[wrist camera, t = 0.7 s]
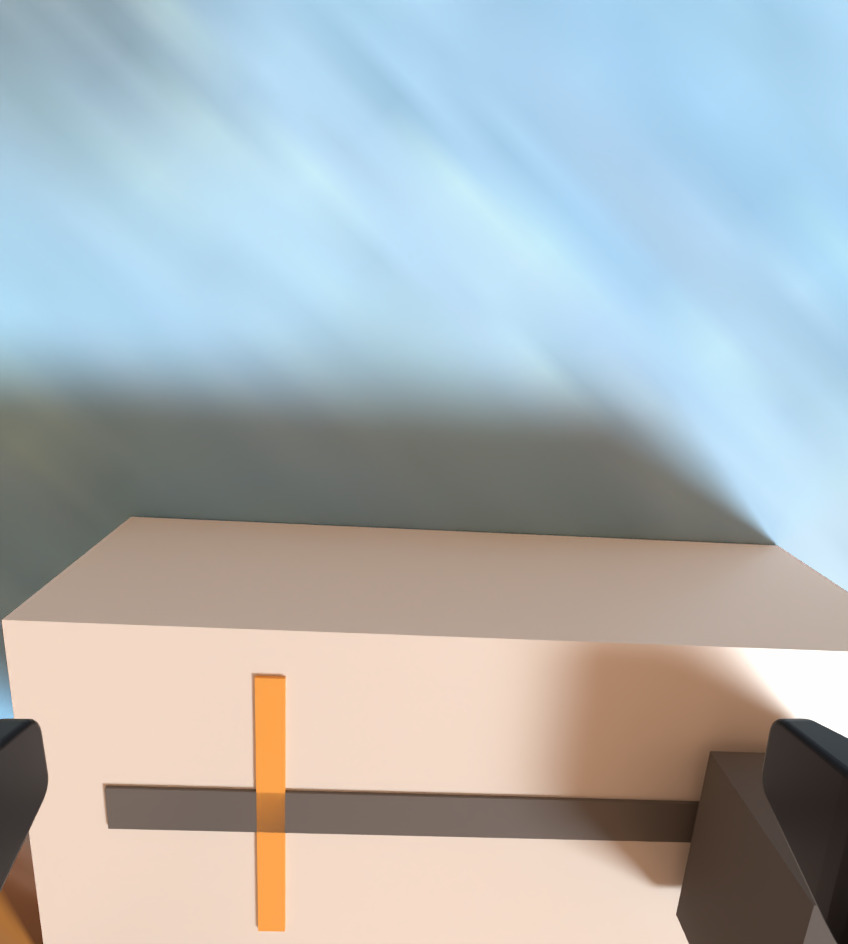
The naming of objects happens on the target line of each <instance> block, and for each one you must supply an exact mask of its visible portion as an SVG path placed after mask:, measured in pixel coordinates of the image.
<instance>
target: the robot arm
mask: <svg viewBox="0 0 848 944" xmlns="http://www.w3.org/2000/svg"><path fill="white" fill-rule="evenodd" d="M761 776H762V786H763V790H764V793H765V796H766V798H767V800H768V803H769V805H770V807H771V809H772V811H773V813H774V815H775V818H776V820H777V822H778V824H779V826H780V828H781V831H782V833H783V835H784V837H785V839H786V841H787V843H788V846H789V848H790V850H791V852H792V854H793V856H794V858H795V861H796V863H797V865H798V867H799V869H800V871H801V873H802V876H803V878H804V880H805V882H806V884H807V886H808V888H809V891H810V893H811V895H812V897H813V899H814V901H815V903H816V905H817V907H818V909H819V911H820V913H821V915H822V917H823V919H824V921H825V923H826V925H827V927H828V929H829V931H830V932H831V934H832V936H833V938H834V940H835V942H836V943H837V944H848V738H847V737H845V736H843V735H841V734H839V733H837V732H835V731H833V730H831V729H829V728H827V727H825V726H823V725H821V724H819V723H817V722H815V721H813V720H810V719H805V718H781V719H778V720H776V721H774V722H773V724H772V725H771V728H770V731H769V736H768V742H767V747H766V752H765V757H764V762H763V768H762V775H761ZM47 787H48V769H47V763H46V757H45V750H44V744H43V737H42V731H41V728H40V725H39V724H38V722H37V721H35V720H33V719H0V892H1V890H2V887H3V885H4V883H5V881H6V879H7V877H8V875H9V873H10V870H11V868H12V866H13V864H14V862H15V860H16V858H17V856H18V853H19V851H20V849H21V847H22V845H23V843H24V841H25V839H26V836H27V834H28V832H29V830H30V828H31V826H32V824H33V822H34V819H35V817H36V815H37V813H38V811H39V809H40V807H41V804H42V802H43V800H44V798H45V795H46V791H47Z"/></svg>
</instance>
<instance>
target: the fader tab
mask: <svg viewBox="0 0 848 944" xmlns="http://www.w3.org/2000/svg"><path fill="white" fill-rule="evenodd" d="M764 757H765V753H759V752H726V751H710V753H709V758H708V763H707V768H706V772H705V777H704V782H703V787H702V792H701V796H700V801H699V806H698V811H697V816H696V820H695V825H694V830H693V835H692V840H691V845H690V849H689V854H688V859H687V864H686V869H685V873H684V878H683V883H682V888H681V893H680V897H679V902H678V907H677V912H676V916H677V918H678V920H679V922H680V925H681V927H682V929H683V931H684V934H685V936H686V938H687V941H688V943H689V944H837V943H836V942H835V940H834V938H833V936H832V934H831V932H830V931H829V929H828V927H827V925H826V923H825V921H824V919H823V917H822V915H821V913H820V911H819V909H818V907H817V905H816V903H815V901H814V899H813V897H812V895H811V893H810V891H809V888H808V886H807V884H806V882H805V880H804V878H803V876H802V873H801V871H800V869H799V867H798V865H797V863H796V861H795V858H794V856H793V854H792V852H791V850H790V848H789V846H788V843H787V841H786V839H785V837H784V835H783V833H782V831H781V828H780V826H779V824H778V822H777V820H776V818H775V815H774V813H773V811H772V809H771V807H770V805H769V803H768V800H767V798H766V796H765V793H764V790H763V786H762V776H761V775H762V768H763V762H764Z"/></svg>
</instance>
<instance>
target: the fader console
mask: <svg viewBox="0 0 848 944" xmlns="http://www.w3.org/2000/svg"><path fill="white" fill-rule="evenodd" d="M2 627H3V635H4V643H5V650H6V658H7V666H8V674H9V681H10V689H11V697H12V705H13V712H14V719H33V720H35V721H37V722H38V724H39V725H40V728H41V731H42V737H43V744H44V750H45V757H46V763H47V769H48V787H47V791H46V795H45V798H44V800H43V802H42V804H41V807H40V809H39V811H38V813H37V815H36V817H35V819H34V822H33V824H32V826H31V828H30V830H29V837H30V844H31V852H32V860H33V868H34V875H35V883H36V891H37V899H38V906H39V914H40V922H41V930H42V937H43V944H689V943H688V941H687V938H686V936H685V934H684V931H683V929H682V927H681V925H680V922H679V920H678V918H677V916H676V912H677V907H678V902H679V897H680V893H681V888H682V883H683V878H684V873H685V869H686V864H687V859H688V854H689V849H690V845H691V840H692V835H693V830H694V825H695V820H696V816H697V811H698V806H699V801H700V796H701V792H702V787H703V782H704V777H705V772H706V768H707V763H708V758H709V753H710V751H726V752H759V753H765V752H766V747H767V742H768V736H769V731H770V728H771V725H772V724H773V722H774V721H776V720H778V719H781V718H805V719H810V720H813V721H815V722H817V723H819V724H821V725H823V726H825V727H827V728H829V729H831V730H833V731H835V732H837V733H839V734H841V735H843V736H845V737H847V738H848V592H847V591H846V590H844V589H842V588H841V587H839V586H838V585H836V584H835V583H833V582H832V581H830V580H829V579H827V578H826V577H824V576H823V575H821V574H820V573H818V572H817V571H815V570H814V569H812V568H811V567H809V566H808V565H806V564H805V563H803V562H802V561H800V560H799V559H797V558H796V557H794V556H793V555H791V554H790V553H788V552H787V551H785V550H784V549H782V548H781V547H779V546H778V545H756V544H733V543H711V542H688V541H666V540H644V539H621V538H599V537H576V536H554V535H532V534H509V533H487V532H464V531H442V530H420V529H397V528H375V527H352V526H330V525H308V524H285V523H263V522H240V521H218V520H195V519H173V518H151V517H130V518H129V519H127V520H126V521H125V522H124V523H122V524H121V525H120V526H119V527H117V528H116V529H115V530H114V531H112V532H111V533H110V534H109V535H107V536H106V537H105V538H104V539H102V540H101V541H100V542H99V543H97V544H96V545H95V546H94V547H92V548H91V549H90V550H89V551H87V552H86V553H85V554H84V555H82V556H81V557H80V558H79V559H77V560H76V561H75V562H74V563H72V564H71V565H70V566H69V567H67V568H66V569H65V570H64V571H62V572H61V573H60V574H58V575H57V576H56V577H55V578H53V579H52V580H51V581H50V582H48V583H47V584H46V585H45V586H43V587H42V588H41V589H40V590H38V591H37V592H36V593H35V594H33V595H32V596H31V597H30V598H28V599H27V600H26V601H25V602H23V603H22V604H21V605H20V606H18V607H17V608H16V609H15V610H13V611H12V612H11V613H10V614H8V615H7V616H6V617H5V618H3V619H2Z"/></svg>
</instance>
